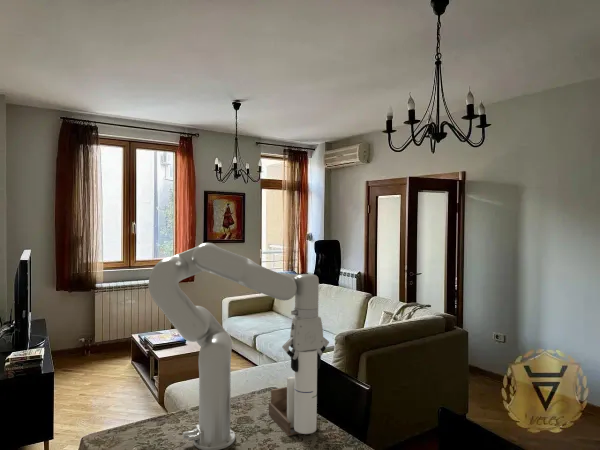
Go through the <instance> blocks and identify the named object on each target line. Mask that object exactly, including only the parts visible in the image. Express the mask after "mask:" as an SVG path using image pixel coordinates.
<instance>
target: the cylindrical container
mask: <svg viewBox="0 0 600 450" xmlns="http://www.w3.org/2000/svg"><path fill="white" fill-rule="evenodd" d="M297 359H298V372H295V371H294V376H295V389H294V430H295V431H296V432H298V433H299V434H304V435H308V434H313V433H315V432H316V431H317V429H316V422H317V416H318V415H317V412H318V410H317V409H318V407H317V406H318V405H317V404H318V368H317V350H310V351H301V352H299V354H298V356H297Z"/></svg>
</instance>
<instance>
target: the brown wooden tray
mask: <svg viewBox="0 0 600 450" xmlns="http://www.w3.org/2000/svg"><path fill="white" fill-rule="evenodd" d="M268 416H269V417H270V418H271V419H272V420H273V421H274V423H276V425H278V427H279V428H280V429H281V430H282V431H283V432H284V433H285V434H286V436H288V437H290V436H295V435H298V434H300V433H298V432H296V431H295V430H294V428H291V422H290V421H289V420H288V419H287V386H284V387H279V388H273V389H270V402H269V403H268ZM318 417H319V416H318V415H317V422H316V430H318V426H319V425H318V423H319V422H318V421H319V420H318Z"/></svg>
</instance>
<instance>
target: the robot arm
mask: <svg viewBox="0 0 600 450" xmlns="http://www.w3.org/2000/svg"><path fill="white" fill-rule="evenodd" d="M202 272H207V273H209V274H211V275H214V276H217V277H220V278H222V279H226V280H228V281H230V282H233V283H236V284H238V285H240V286H243V287H245V288H248V289H250V290H253V291H255V292H257V293H261V295H262V294H263V295H265V296H268V297H271V298H274V299H276V300H278V301H279V300H280V301H288V300H291V299H292V298H294V308H293V310H291V312H290V313H291V314H290V315H292V316H293V317H292V321H291V327H290V335H289V339H288V340H286V342H284V344H283V345H282V349H283V350H284V351H285V353H286V354H287V356H289V357H290V369H291V370H292V371H293V372H294V373H295V372H298V359H297V356H298V354H299V352H301V351H310V350H317V370H318V369H320V368H321V363H322V361H321V360H322V357H321V356H323V353H324V352H325V351H326V348H327V347H328V345H329V344H330V341H329V340H328V339H326V338H325V337H324V330H323V329H324V328H323V323H322V318H321V317H320V316H319V295H320V294H319V292H320V290H319V288H320V287H319V286H320V285H319V284H320V283H319V281H320V280H319V277H318V276H317V274H312V273H310V274H309V273H303V274H301V273H300V274H293V273H284V272H283V273H282V272H281V273H280V272H278V271H274V270H272V269H269V268H267V267H265V266H262V265H260V264H258V263H256V262H255V261H254V260H252V259H251V258H248V257H247V256H245V255H244V256H243V255H241V254H238V253H235V252H232V251H231V250H228V249H224V248H222V247H219V246H217V245H216V244H215V243H213V242H204V243H203V242H202V243H200V244H199V245H197V246H195V247H193V248H190V249H188V250H185V251H183V252H180V253H177V254H174V255H172V256H166V257H165V258H162V259H161V260H159V261H158V262H157V263H156V264H155V265H154V266H153V268H152V270H151V272H150V275H149V277H148V278H149V279H148V290H149V294H150V297H151V298H152V300H153V302H154V303H155V304H156V306H157V307H158V308H159V309H160V310H161V312H162V313H163V314H164V315H165V317H166V318H167V320H168V321H169V322H170V323H171V325H173V327H174V328H175V329H176V331H177V332H178V333H179V334H180V336H181V337H182V338H183V339H184V340H186V341H188V342H191V343H197V345H198V346H199V347H200V349H199V352H198V379H199V380H198V424H196V425H195V426H196V427H195V428H193V429H192V430H185V431H183V432H182V439H183V440H185V439H186V440H187V439H188V441H189V442H190V441H193V445H194V446H195V447H196V448H197V449H199V450H222V449H226V448H228V447H230V446H231V445H233V444H234V442H235V440H236V433H235V432H234V430H232V429H231V394H232V393H231V385H232V383H231V375H232V374H231V372H232V371H231V367H232V365H231V364H232V363H231V360H232V349H233V341H232V339H231V338H232V337H231V336H230V335H229V333H228V332H227V331H226V330H225V328H224V327H223V326H222V324H221V323H220V322H219V321H218V320H217V318H216V317H215V316H214V315H213V314H212V312H211V311H210V310H209V309H207V308H206V307H204V306H201V305H195V304H194V303H193V301H192V300H191V299H190V297H189V296H188V295H187V294H186V293H185V291H184V290H182V289H181V287H180V285H179V283H180V282H181V281H183V280H185V279H187V278H190V277H193V276H195V275H199V274H200V273H202ZM290 348H292V349H290Z"/></svg>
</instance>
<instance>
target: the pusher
mask: <svg viewBox="0 0 600 450" xmlns="http://www.w3.org/2000/svg"><path fill="white" fill-rule="evenodd" d="M286 380H287V381H286V387H287V419H288V420H289V421H290V422H291V428H294V389H295V375H294V376H289V377H288V376H287V378H286Z"/></svg>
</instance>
